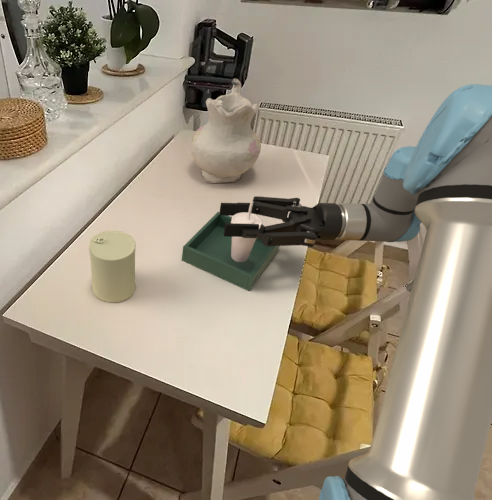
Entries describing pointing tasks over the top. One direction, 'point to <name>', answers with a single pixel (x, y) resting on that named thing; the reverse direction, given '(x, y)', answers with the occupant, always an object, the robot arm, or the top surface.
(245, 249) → the smoothie
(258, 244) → the bin
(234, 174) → the ceramic pitcher
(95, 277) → the can
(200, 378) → the top surface
